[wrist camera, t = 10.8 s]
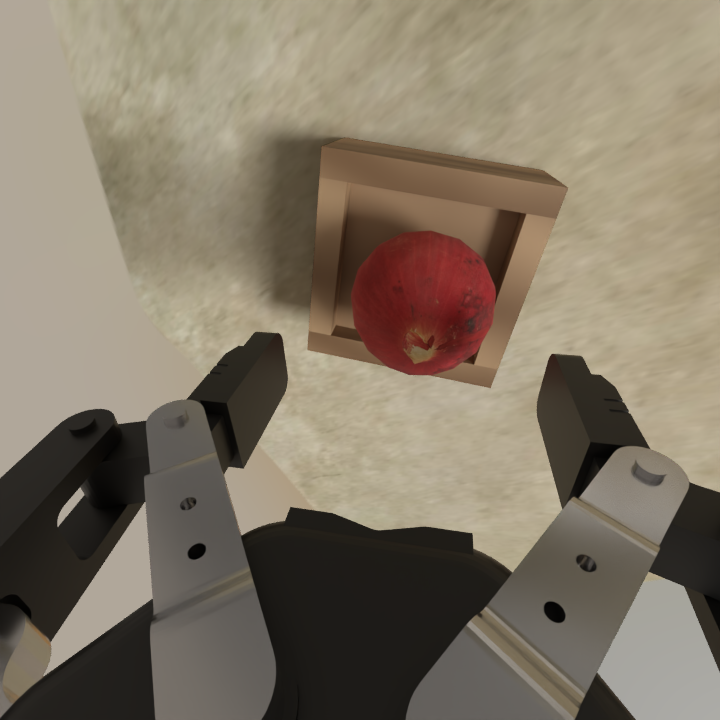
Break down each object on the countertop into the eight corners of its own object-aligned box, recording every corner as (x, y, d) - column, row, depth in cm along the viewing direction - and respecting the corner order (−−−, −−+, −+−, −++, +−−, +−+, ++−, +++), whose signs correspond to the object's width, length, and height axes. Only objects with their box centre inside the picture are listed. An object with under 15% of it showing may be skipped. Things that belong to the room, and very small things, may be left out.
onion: (484, 209, 18) (528, 263, 11) (477, 325, 21) (509, 424, 14) (356, 218, 19) (324, 273, 12) (366, 329, 22) (345, 424, 15)
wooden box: (346, 136, 21) (321, 146, 17) (541, 169, 20) (568, 187, 16) (329, 309, 27) (307, 349, 22) (482, 339, 26) (490, 387, 22)
